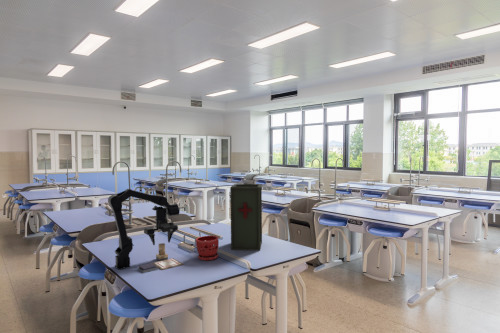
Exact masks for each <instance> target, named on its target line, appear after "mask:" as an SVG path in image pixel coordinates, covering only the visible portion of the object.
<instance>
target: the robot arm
mask: <svg viewBox="0 0 500 333" xmlns="http://www.w3.org/2000/svg"><path fill="white" fill-rule="evenodd" d="M131 197H132V198H136V199H140V200H144V201H147V202H150V203H152V204H155V205H154V207H153V208H151V210H153V211H155V219H154V221H155V228H153V227H145V228H144V229H143V233H144V234H145V235H147V236H148V237H149V239H150V241H151V242H152V245H153V246H156V241H155V239H156V238H155V236H156V234H155V232H162V233H167V242H168V243H170V242H171V240H172V237H173V234H174V233H175V232H177V231H178V230H179V226H178V224H175V223H174V222H173V221H172V222H171V221H170V222H168V219H167V216H168V217H173V216H179V215H180V207H179V204H178V203H174V204H170V203H169V202H168V198H167V197H166V196H164V195H161V194H149V193H145V192H141V191H137V190H133V189H131V188H127V189H125V190H122V191H120V192H118V193H116V194H111V195H110V196H109V197H108V198H107V203H108V204H109V207H110V209H111V210H112V213H113V217H114V221H115V224H116V229H117V233H118V236H119V237H118V247H117V248H116V249H115V250H114V253H115V254H116V255H115V265H114V267H115V268H116V269H117V270H122V269H126V268H131V257H130V253H131V252H132V250H133V248H134V246H135V245H134V244H133V238H132V237H130V236H128V232H127V229H126V224H125V220H124V217H123V211H122V210H123V203H124V202H125V201H127V200H128V199H129V198H131Z"/></svg>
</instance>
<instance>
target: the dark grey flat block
mask: <svg viewBox="0 0 500 333" xmlns="http://www.w3.org/2000/svg"><path fill="white" fill-rule="evenodd" d="M153 263H154V262H150V263H146V264H141V265H139V266H137V270H138V271H140V272H141V273H142V274H144V273H148V272H153V271H157V270H158V269H159V268H158V267H157V266H156V265H154V264H153Z"/></svg>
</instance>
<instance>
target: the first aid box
mask: <svg viewBox="0 0 500 333" xmlns="http://www.w3.org/2000/svg"><path fill="white" fill-rule="evenodd" d="M262 187H263V186H262V184H260V183H257V184H256V183H254V184H253V183H248V184H247V183H241V184H239V183H237V184H235V183H234V184H232V186H230V187H229V188H230V250H231V251H261V248H262V243H263V224H262V223H263V217H262V215H263V214H262V213H263V212H262V210H263V208H262V207H263V205H262V202H263V201H262V199H263V198H262V196H263V195H262V194H263V193H262V191H263V190H262V189H263V188H262Z"/></svg>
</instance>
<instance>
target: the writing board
mask: <svg viewBox="0 0 500 333" xmlns="http://www.w3.org/2000/svg"><path fill="white" fill-rule="evenodd" d="M152 263H153V264H154V265H156V266H157V267H158V269H159V270H161V271H164V270H168V269H171V268H176V267H180V266H183V265H184V264H185V263H183V262H181V261H179V260H177V259H175V258H172V257H171V258H168V259H167V260H162V261H159V260H158V261H155V262H152Z"/></svg>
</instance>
